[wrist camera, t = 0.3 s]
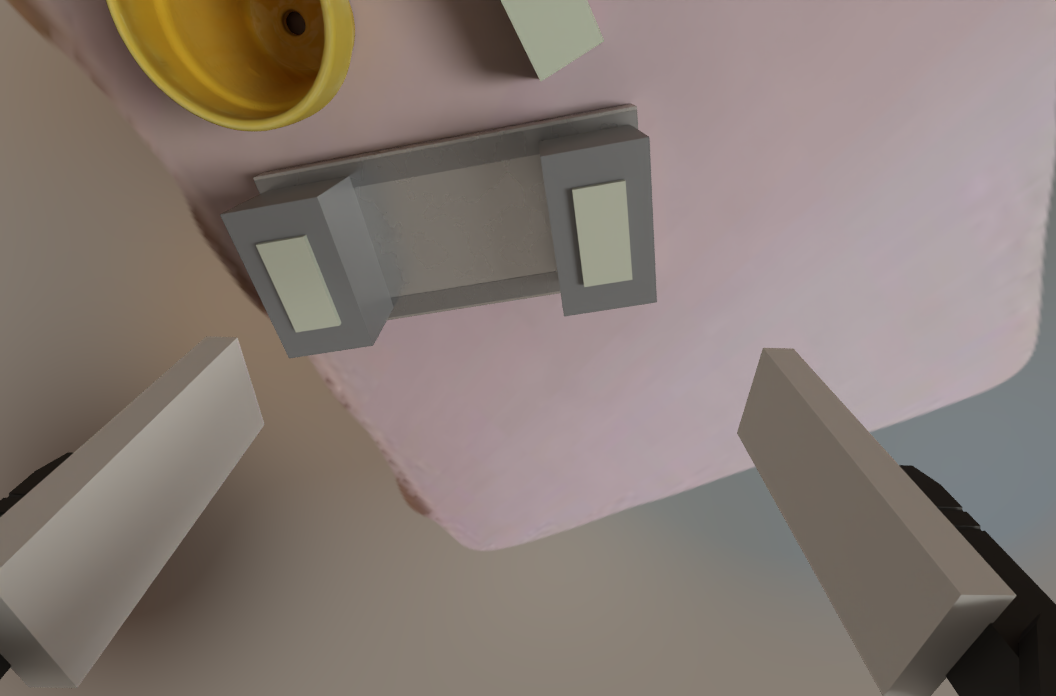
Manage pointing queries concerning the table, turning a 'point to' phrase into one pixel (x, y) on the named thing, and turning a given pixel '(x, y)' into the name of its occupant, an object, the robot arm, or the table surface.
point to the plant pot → (240, 56)
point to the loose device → (553, 31)
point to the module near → (601, 218)
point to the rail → (458, 212)
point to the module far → (313, 266)
